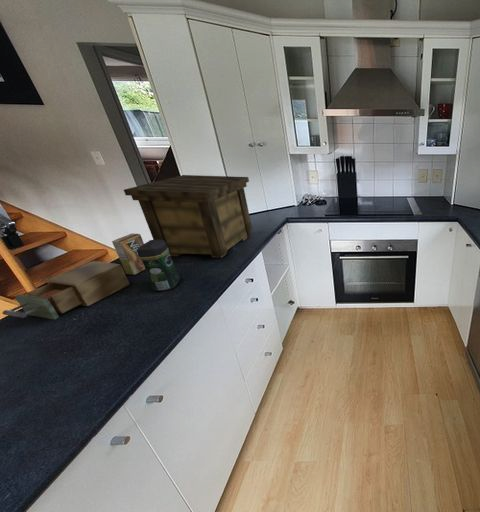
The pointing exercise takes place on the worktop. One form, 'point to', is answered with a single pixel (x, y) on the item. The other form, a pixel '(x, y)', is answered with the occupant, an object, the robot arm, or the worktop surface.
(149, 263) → the coffee jar
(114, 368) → the worktop surface
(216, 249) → the crate
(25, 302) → the drawer
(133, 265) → the candy box
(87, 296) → the cabinet
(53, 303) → the block
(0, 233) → the robot arm
